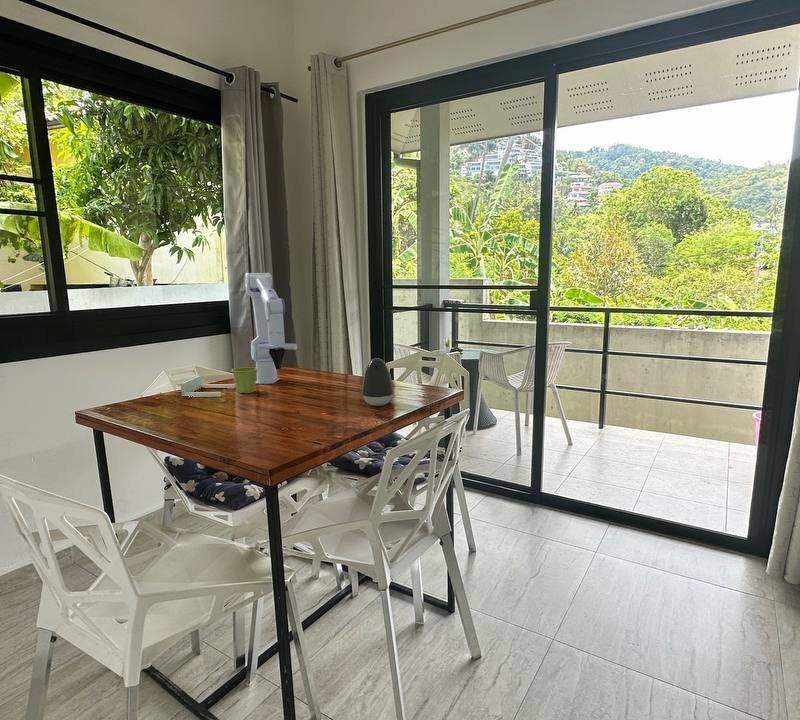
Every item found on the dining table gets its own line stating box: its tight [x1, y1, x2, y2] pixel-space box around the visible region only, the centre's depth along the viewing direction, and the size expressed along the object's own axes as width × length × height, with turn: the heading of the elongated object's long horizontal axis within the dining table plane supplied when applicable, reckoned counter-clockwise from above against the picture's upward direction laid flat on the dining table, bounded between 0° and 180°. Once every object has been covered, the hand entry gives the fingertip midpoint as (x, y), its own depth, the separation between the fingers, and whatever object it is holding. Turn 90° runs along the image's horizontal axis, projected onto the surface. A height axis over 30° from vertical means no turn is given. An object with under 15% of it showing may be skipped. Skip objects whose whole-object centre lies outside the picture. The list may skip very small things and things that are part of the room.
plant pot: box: [231, 366, 258, 394], centre depth 189 cm, size 9×9×9 cm
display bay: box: [180, 375, 236, 398], centre depth 190 cm, size 15×14×5 cm
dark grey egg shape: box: [361, 357, 394, 407], centre depth 166 cm, size 10×10×15 cm
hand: (278, 369), depth 188 cm, fingers closed
